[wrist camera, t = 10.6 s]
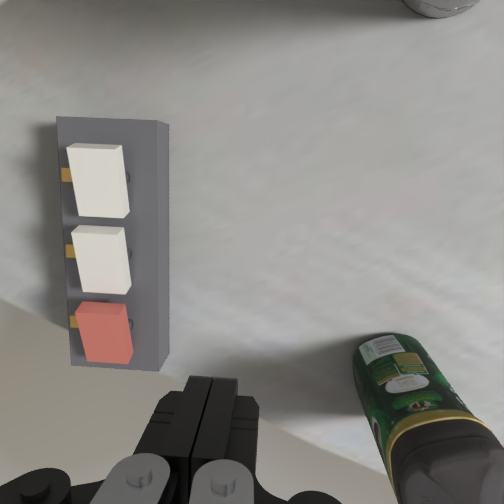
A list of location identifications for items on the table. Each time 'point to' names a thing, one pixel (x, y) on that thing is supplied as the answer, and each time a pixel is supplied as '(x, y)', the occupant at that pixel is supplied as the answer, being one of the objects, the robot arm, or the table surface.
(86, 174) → the rocker
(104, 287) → the block
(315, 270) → the table surface
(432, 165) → the table surface
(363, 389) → the coffee jar
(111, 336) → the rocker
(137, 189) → the switch panel
